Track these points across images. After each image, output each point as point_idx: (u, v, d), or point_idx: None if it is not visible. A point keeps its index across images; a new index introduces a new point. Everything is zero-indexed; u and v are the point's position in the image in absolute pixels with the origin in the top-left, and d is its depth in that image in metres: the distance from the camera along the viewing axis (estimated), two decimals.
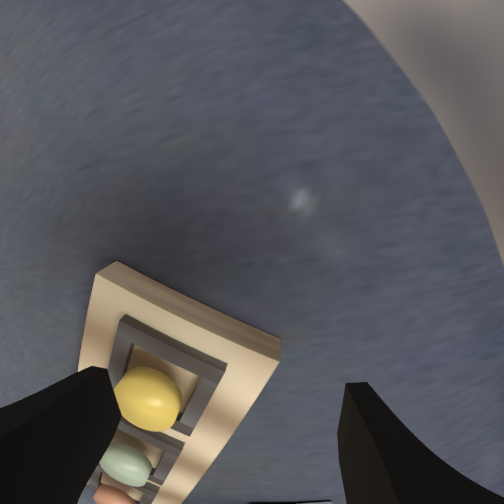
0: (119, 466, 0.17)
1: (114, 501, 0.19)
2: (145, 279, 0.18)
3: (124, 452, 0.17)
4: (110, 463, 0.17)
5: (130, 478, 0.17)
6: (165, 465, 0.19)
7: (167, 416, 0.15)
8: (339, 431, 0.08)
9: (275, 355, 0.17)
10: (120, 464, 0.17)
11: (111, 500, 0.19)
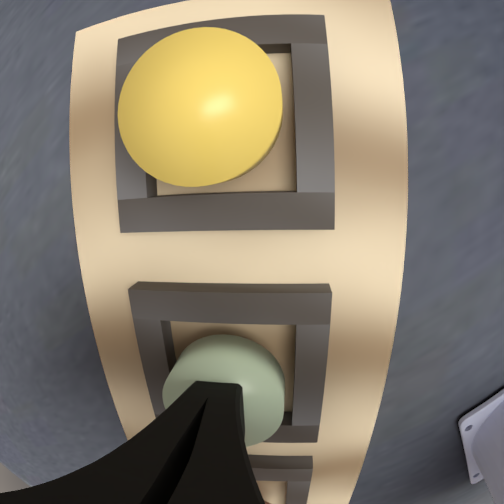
0: None
1: None
2: None
3: (209, 347, 0.09)
4: None
5: (246, 420, 0.09)
6: (310, 373, 0.10)
7: (260, 84, 0.06)
8: None
9: (378, 3, 0.08)
10: None
11: None
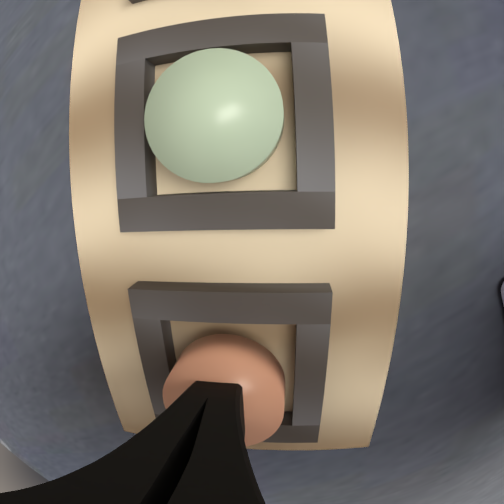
0: (198, 91, 0.07)
1: (221, 365, 0.08)
2: None
3: None
4: (174, 103, 0.07)
5: (238, 125, 0.07)
6: (313, 101, 0.08)
7: None
8: None
9: None
10: (200, 78, 0.07)
11: (212, 368, 0.08)
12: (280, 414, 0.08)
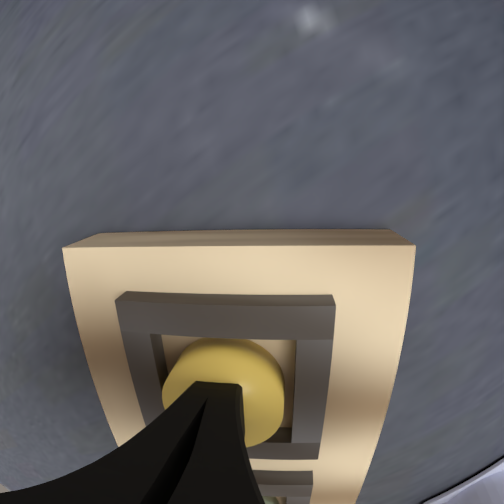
0: None
1: None
2: (145, 233, 0.11)
3: None
4: None
5: None
6: None
7: (268, 406, 0.08)
8: None
9: (401, 241, 0.09)
10: None
11: None
12: None
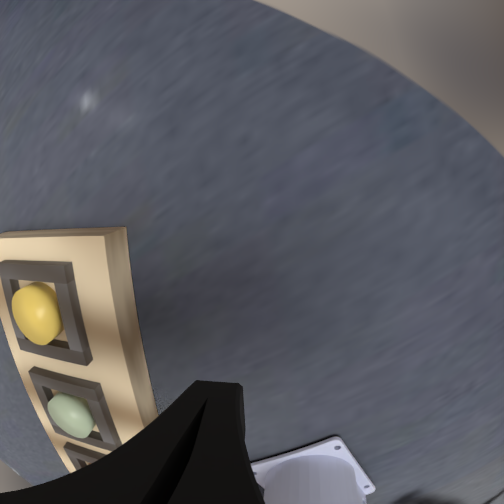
0: (61, 412, 0.17)
1: None
2: (22, 231, 0.18)
3: (60, 394, 0.17)
4: (56, 413, 0.17)
5: (76, 426, 0.17)
6: (99, 419, 0.18)
7: (45, 316, 0.15)
8: None
9: (104, 233, 0.15)
10: (60, 409, 0.17)
11: None
12: None
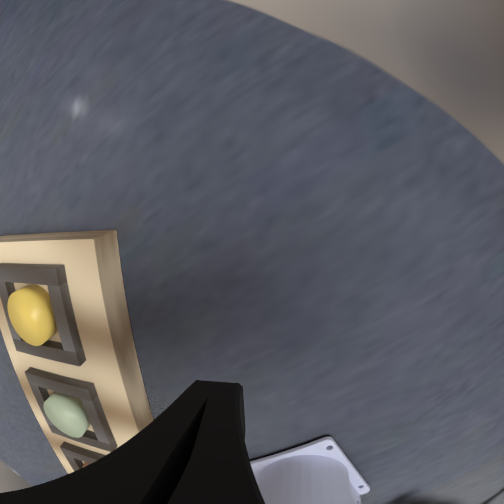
0: (57, 412, 0.17)
1: None
2: (17, 235, 0.18)
3: (56, 394, 0.18)
4: (52, 412, 0.17)
5: (72, 425, 0.17)
6: (93, 419, 0.18)
7: (39, 318, 0.15)
8: None
9: (94, 237, 0.16)
10: (55, 408, 0.17)
11: None
12: None
